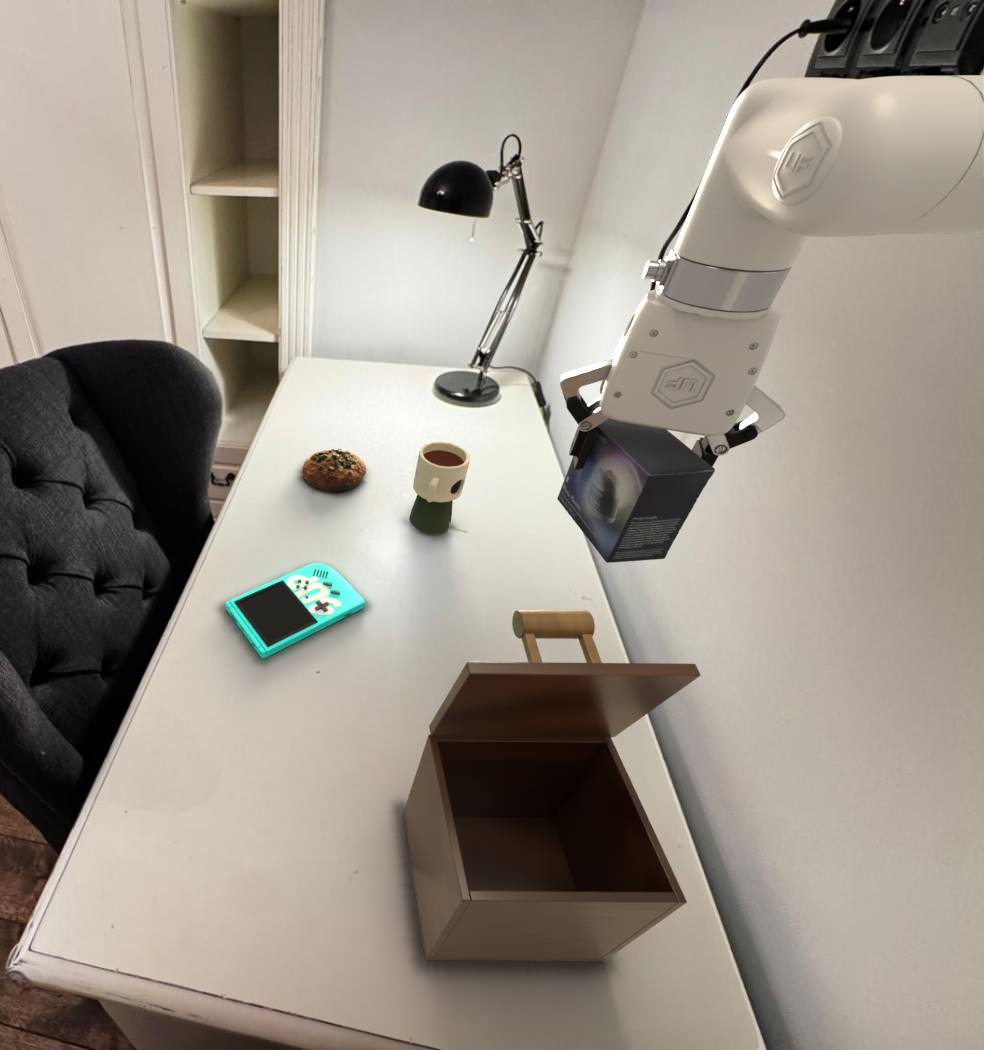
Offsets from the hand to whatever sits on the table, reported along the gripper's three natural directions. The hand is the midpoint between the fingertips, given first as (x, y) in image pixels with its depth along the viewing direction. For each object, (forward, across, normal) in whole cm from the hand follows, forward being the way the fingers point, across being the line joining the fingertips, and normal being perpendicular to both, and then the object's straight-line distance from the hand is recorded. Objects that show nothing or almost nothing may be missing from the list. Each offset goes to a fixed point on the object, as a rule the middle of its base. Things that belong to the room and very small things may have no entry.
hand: (630, 472), depth 54 cm
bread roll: (+25, -36, +25) cm, 51 cm away
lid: (+6, -5, -26) cm, 27 cm away
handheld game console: (+26, -32, -6) cm, 41 cm away
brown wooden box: (+27, -3, -29) cm, 40 cm away
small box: (+7, 0, 0) cm, 7 cm away
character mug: (+26, -18, +18) cm, 36 cm away
